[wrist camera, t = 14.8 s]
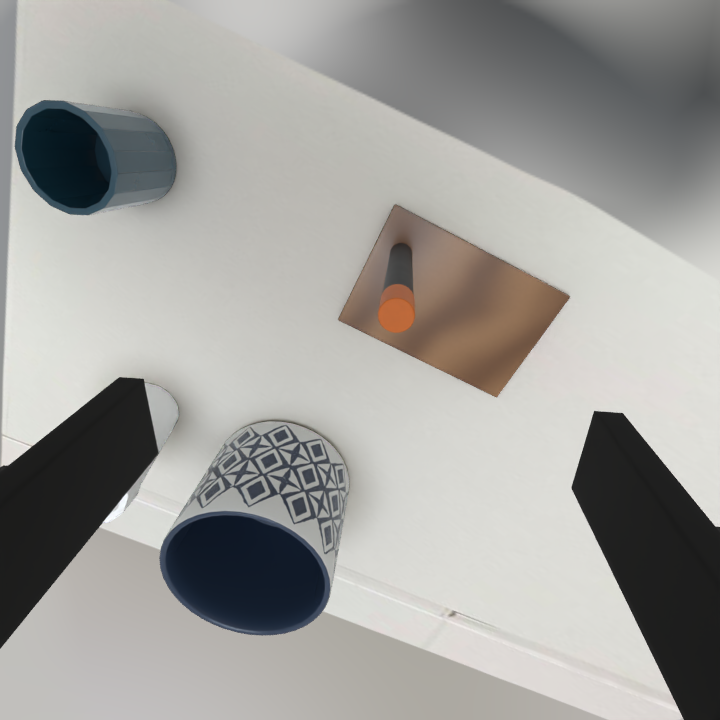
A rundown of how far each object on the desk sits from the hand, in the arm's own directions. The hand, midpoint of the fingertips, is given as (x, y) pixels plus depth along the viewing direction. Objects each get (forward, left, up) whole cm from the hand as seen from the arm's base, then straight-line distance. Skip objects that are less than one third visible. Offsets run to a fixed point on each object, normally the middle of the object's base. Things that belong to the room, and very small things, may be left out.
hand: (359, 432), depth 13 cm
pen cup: (-6, -23, -30) cm, 39 cm away
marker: (+1, +1, -30) cm, 30 cm away
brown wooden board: (+6, +6, -30) cm, 31 cm away
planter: (+28, -11, -31) cm, 43 cm away
